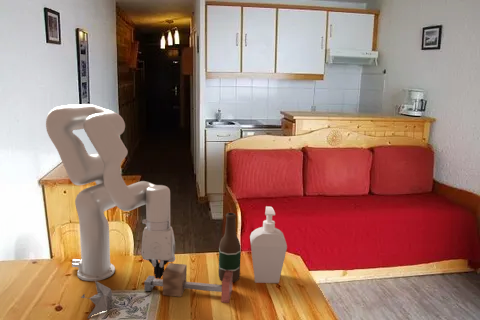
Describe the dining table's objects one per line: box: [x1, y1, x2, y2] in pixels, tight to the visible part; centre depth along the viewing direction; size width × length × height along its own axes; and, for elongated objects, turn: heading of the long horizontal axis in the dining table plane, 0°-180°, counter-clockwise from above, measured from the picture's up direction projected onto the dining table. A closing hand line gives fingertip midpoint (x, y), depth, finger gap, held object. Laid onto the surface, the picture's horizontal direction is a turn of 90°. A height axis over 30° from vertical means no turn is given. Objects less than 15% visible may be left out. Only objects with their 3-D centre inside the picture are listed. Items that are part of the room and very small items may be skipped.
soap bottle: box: [249, 205, 288, 284], centre depth 141 cm, size 12×10×26 cm
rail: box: [143, 270, 233, 304], centre depth 131 cm, size 28×8×7 cm, turn 84°
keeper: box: [162, 262, 188, 298], centre depth 131 cm, size 6×7×8 cm
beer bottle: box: [218, 212, 242, 283], centre depth 140 cm, size 8×8×24 cm
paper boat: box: [80, 281, 113, 319], centre depth 120 cm, size 12×6×9 cm
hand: (159, 276), depth 131 cm, fingers closed
